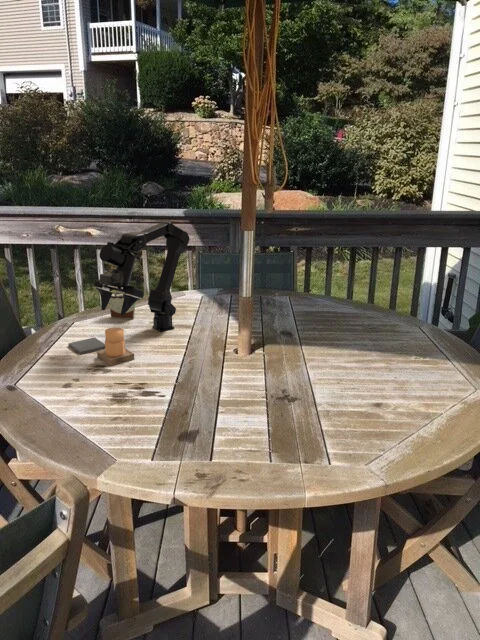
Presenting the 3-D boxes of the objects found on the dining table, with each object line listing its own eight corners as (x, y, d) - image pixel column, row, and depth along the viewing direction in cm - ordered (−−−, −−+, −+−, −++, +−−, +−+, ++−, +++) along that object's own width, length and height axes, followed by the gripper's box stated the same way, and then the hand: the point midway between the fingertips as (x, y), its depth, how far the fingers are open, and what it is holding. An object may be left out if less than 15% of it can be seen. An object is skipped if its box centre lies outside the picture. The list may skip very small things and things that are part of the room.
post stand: (121, 351, 187) (120, 335, 185) (134, 359, 180) (133, 342, 179) (97, 357, 181) (96, 340, 179) (109, 365, 175) (108, 348, 173)
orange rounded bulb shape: (119, 348, 184) (118, 326, 182) (127, 353, 180) (126, 331, 177) (103, 352, 181) (101, 329, 178) (111, 357, 176) (110, 334, 174)
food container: (141, 314, 225) (140, 291, 222) (137, 319, 220) (136, 295, 216) (112, 313, 226) (111, 290, 223) (107, 317, 221) (106, 294, 217)
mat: (94, 339, 197) (94, 337, 196) (107, 348, 189) (107, 345, 189) (68, 345, 190) (68, 343, 190) (80, 354, 183) (80, 351, 183)
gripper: (88, 259, 184) (76, 303, 183) (128, 267, 174) (115, 313, 173) (111, 267, 193) (99, 309, 193) (150, 275, 184) (138, 319, 183)
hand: (112, 312), depth 185 cm, fingers open, 9 cm apart
